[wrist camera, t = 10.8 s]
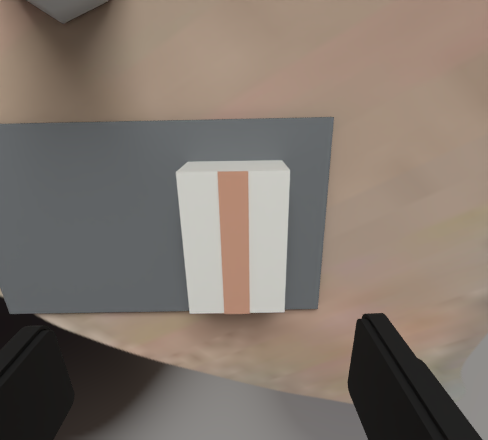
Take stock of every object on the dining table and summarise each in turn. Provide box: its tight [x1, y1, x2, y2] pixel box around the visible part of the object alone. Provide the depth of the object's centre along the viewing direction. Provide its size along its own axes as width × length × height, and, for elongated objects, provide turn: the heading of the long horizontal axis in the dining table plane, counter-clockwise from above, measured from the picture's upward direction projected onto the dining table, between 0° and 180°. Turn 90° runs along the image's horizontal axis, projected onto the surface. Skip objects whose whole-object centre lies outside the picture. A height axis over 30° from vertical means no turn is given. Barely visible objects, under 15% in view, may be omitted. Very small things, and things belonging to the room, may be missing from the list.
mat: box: [0, 117, 334, 314], centre depth 20 cm, size 24×14×1 cm, turn 91°
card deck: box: [176, 160, 290, 314], centre depth 18 cm, size 9×6×4 cm, turn 1°
